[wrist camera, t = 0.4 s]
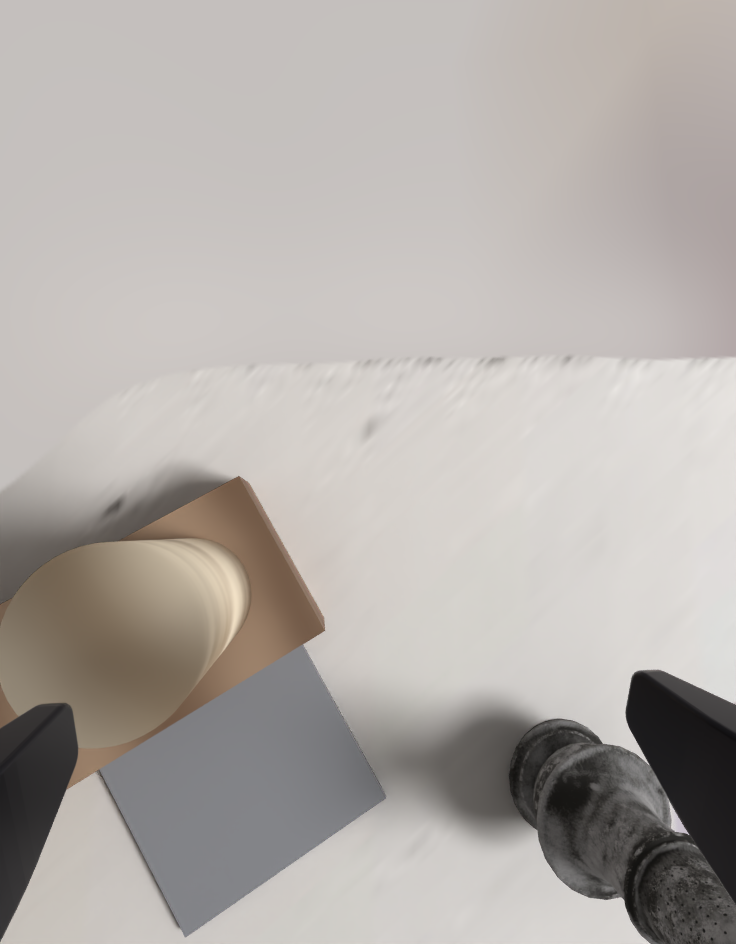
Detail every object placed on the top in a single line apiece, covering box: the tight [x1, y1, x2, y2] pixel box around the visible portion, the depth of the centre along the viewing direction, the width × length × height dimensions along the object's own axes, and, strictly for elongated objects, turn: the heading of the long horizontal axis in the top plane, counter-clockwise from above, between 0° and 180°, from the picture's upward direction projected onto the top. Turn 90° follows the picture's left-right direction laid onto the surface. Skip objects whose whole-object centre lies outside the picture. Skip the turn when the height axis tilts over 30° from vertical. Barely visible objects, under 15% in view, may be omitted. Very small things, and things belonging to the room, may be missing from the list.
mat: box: [99, 644, 386, 937], centre depth 21 cm, size 10×8×1 cm
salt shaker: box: [509, 719, 736, 944], centre depth 17 cm, size 6×6×12 cm
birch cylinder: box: [0, 538, 252, 748], centre depth 15 cm, size 5×5×8 cm
